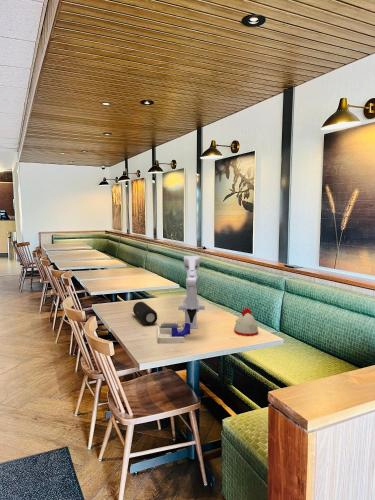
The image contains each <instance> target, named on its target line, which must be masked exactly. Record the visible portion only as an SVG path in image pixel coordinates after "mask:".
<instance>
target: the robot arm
mask: <svg viewBox="0 0 375 500" xmlns="http://www.w3.org/2000/svg"><path fill="white" fill-rule="evenodd" d="M200 263H201V257H200V255H184V256H183V267H184V270H186V278H185V283H186V284H185V286H186V287H185V288H186V297H184V298H183V303H182V305H178V311H183V313H184V322H183V323H182V324H183V326H184V327H185V323H189V324H190V329H199V328H198V325H197V315H198V313H199V312H200V310H202V311H205V305H200V302H199V299H198V287H199V278H198V271H197V270H199V268H200ZM184 327H183V328H184Z"/></svg>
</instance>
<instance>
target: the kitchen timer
mask: <svg viewBox="0 0 375 500" xmlns="http://www.w3.org/2000/svg"><path fill="white" fill-rule="evenodd" d="M240 312H241V315H239V316H238V318H237V319H236V320H235V324H234V328H233V330H234V331H233V332H234V334H236V335H238V336H241V337H254V336H257V335H258V334H259V330H258V329H259V328H258V324H257V320H256V318H255V317H254V316H253V315H252V313H253V311H252V310H251V308H249V307H245V308H243V309H242V310H241V311H240Z"/></svg>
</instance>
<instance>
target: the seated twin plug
mask: <svg viewBox="0 0 375 500" xmlns="http://www.w3.org/2000/svg"><path fill="white" fill-rule="evenodd" d="M178 325H179V323H176V322H163V323H161V324H160V326H161V328H172V327H176V328H178Z"/></svg>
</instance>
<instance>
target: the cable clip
mask: <svg viewBox="0 0 375 500" xmlns="http://www.w3.org/2000/svg"><path fill="white" fill-rule="evenodd" d="M184 323H185V322H184ZM190 334H191V328H190V324H189V323H185V327H183V328H182V331H181V332H178V330H177V328H176V327H172V334H171V337H184V338H185V336H187V335H190Z"/></svg>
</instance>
